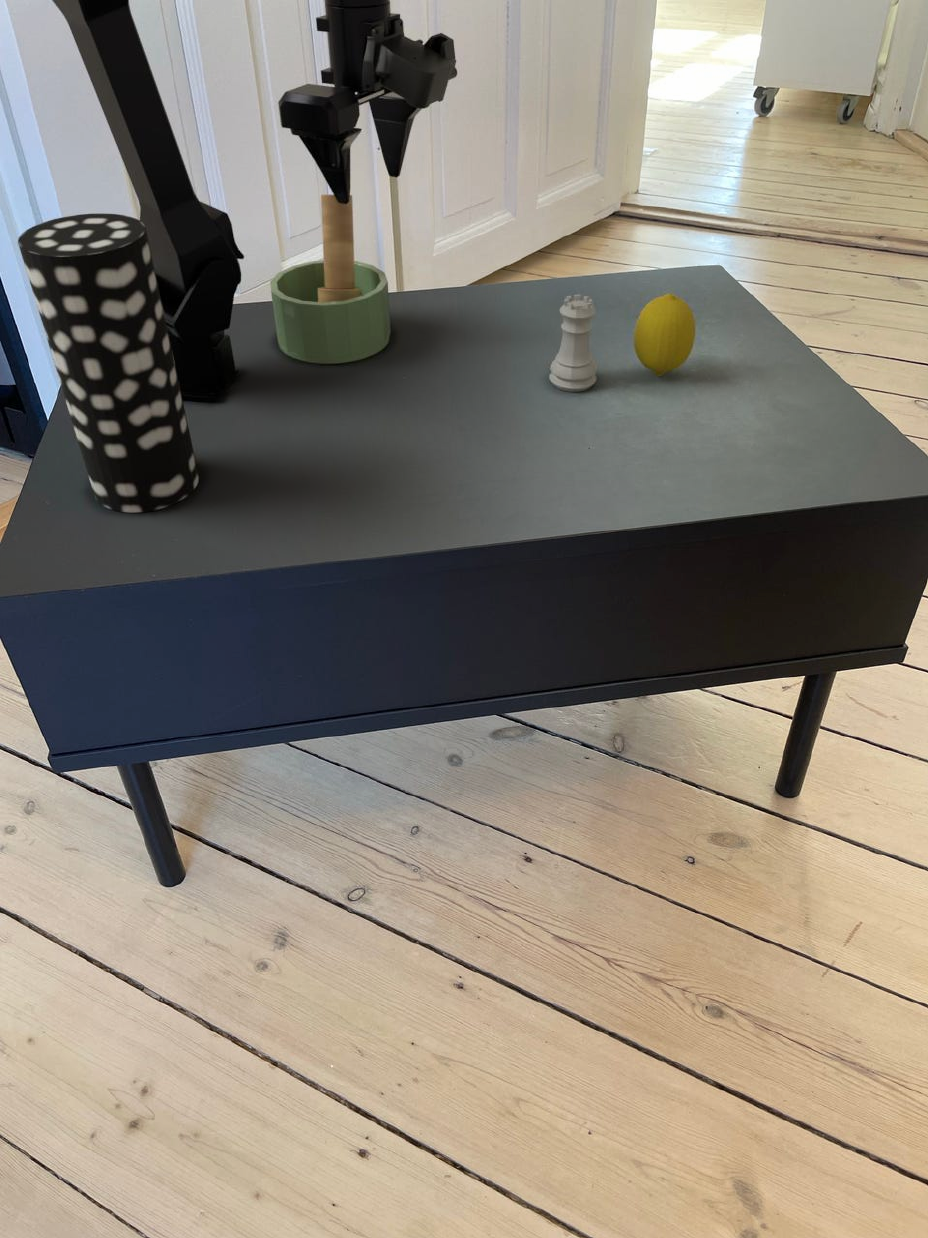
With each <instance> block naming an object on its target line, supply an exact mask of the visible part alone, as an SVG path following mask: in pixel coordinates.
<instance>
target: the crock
mask: <svg viewBox="0 0 928 1238" xmlns="http://www.w3.org/2000/svg"><path fill="white" fill-rule="evenodd" d="M354 268H355V287H358V288H362V296H360V297H357V298H353V299H349V300H345V301H336V302H318V288H321V287H325V283H324V259H323V260H313V261H308V262H303V263H300V264H296V265H292V266H290V267H287V268H285V269H283V270H281V271H279V272H277V273H276V274H275V275H274V276H273V278H272V279H271V280H270V281H269V286H270V294H271V301H272V308H273V314H274V315H273V316H274V322H275V331H276V336H277V337H276V339H277V343H278V347H279V349H280V350H281V352H283V353H284V354H285V355H287V356H289V357H291V358H293V359H294V360H297V361H300V362H301V361H302V362H305V363H310V364H321V365H322V364H323V365H326V364H328V365H332V364H334V365H335V364H345V363H351V362H356V361H360V360H364V359H367V358H369V357H372V356H374V355H376V354H378V353H379V352H381V351H383V350H384V348H386V347H387V345H388V344H389V342H390V340H391V331H392V330H391V315H390V314H391V312H390V297H389V295H390V294H389V281H388V278H387V275H386V273H385V272H384V271H383V270H382V269H380V268H379V267H377V266H376V265H373V264H369V263H365V262H362V261H358V260H354Z"/></svg>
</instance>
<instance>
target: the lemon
mask: <svg viewBox="0 0 928 1238" xmlns="http://www.w3.org/2000/svg"><path fill="white" fill-rule="evenodd" d="M634 328H635V329H634V334H633V335H634V336H633V341H634V342H633V344H634V345H633V346H634V350H635V354H636V356H637V359H638V360H639V362H640V363H641V364H642V366H644V367H645V368H646V369H648V370H650V371H652V372H653V373H654V374H655V375H656V376H658V377H661V376H664V375H665V374H666V373H668V372H669V373H670V372H672V371H674V370H677V369H678V368H680V367H681V366H682V365H683V364H684V363H685V362H686V361H687V359H688V358H689V357H690V355H691V353H692V350H693V347H694V343H695V338H696V321H695V316H694V313H693V311H692V309H691V307H690V305H689V304H687V302H686V301H684V300H683V299H682V298H681V297H678V296H676V295H675V294H674V293H672V292H666V294H664V295H661V296H658V297H656V298H653V299H652V300H651V301H649V302H648V303H647V304H646V305H645V306H644V307H643V309H642V310H641V312H640V314H639V316H638V318H637V321H636V324H635V327H634Z"/></svg>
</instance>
